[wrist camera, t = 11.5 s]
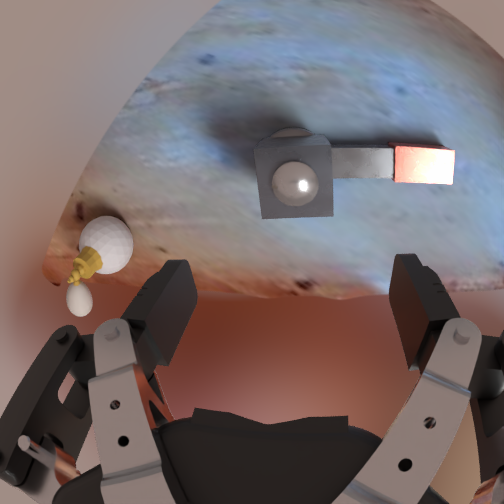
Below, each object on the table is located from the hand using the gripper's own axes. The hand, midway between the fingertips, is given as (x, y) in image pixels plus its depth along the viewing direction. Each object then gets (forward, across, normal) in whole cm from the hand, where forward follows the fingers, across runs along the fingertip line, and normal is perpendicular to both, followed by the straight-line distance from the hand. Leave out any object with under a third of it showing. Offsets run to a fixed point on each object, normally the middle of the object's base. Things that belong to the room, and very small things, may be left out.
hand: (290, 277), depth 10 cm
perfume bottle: (+20, +24, +8) cm, 32 cm away
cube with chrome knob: (+18, 0, 0) cm, 18 cm away
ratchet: (+20, -6, 0) cm, 21 cm away
